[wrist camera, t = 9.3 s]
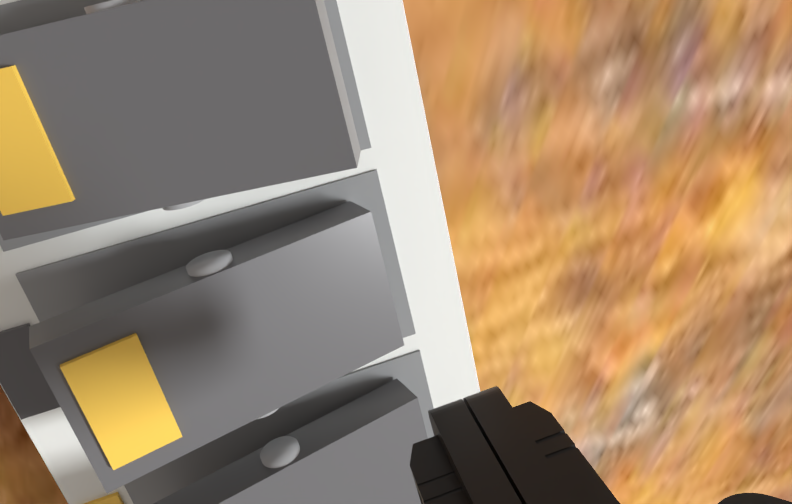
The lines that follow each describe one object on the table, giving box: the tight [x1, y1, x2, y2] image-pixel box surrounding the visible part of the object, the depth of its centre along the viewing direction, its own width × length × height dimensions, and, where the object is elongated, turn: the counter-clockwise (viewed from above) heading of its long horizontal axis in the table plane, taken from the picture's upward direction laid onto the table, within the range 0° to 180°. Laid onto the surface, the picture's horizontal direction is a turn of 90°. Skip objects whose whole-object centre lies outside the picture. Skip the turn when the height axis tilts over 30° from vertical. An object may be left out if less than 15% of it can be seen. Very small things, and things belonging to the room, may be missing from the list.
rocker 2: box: [29, 201, 404, 493], centre depth 18 cm, size 9×5×2 cm, turn 103°
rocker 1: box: [0, 0, 361, 240], centre depth 15 cm, size 9×5×2 cm, turn 103°
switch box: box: [0, 0, 480, 504], centre depth 22 cm, size 14×20×5 cm
